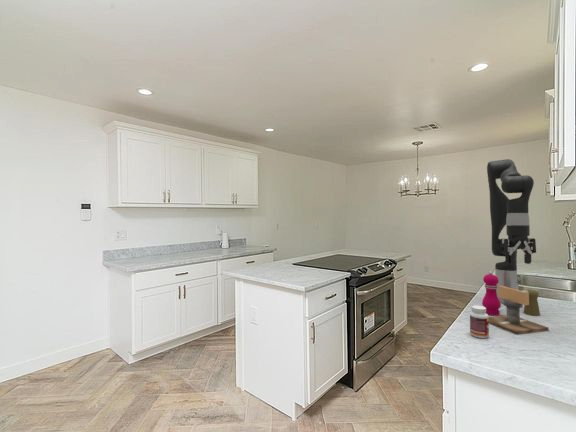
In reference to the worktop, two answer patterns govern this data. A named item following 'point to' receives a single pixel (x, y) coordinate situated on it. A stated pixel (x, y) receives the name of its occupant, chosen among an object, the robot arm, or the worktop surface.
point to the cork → (532, 304)
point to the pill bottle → (479, 322)
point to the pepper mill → (491, 295)
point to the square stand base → (515, 323)
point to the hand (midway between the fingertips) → (518, 263)
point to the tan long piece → (513, 297)
